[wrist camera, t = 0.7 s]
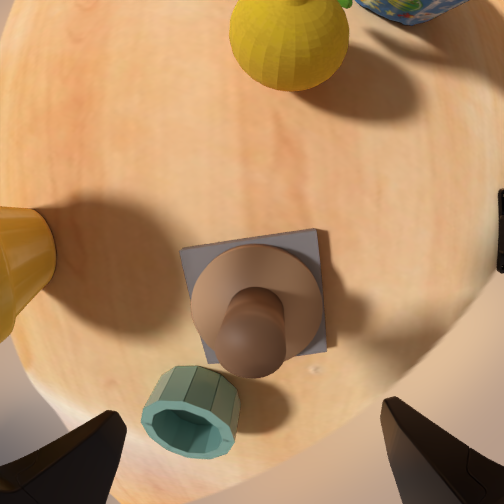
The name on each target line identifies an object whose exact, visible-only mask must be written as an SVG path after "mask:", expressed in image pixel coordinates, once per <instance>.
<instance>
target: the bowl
mask: <svg viewBox="0 0 504 504" xmlns="http://www.w3.org/2000/svg"><path fill="white" fill-rule="evenodd" d="M240 407H241V403H240V399H239V396H238V392H237V389H236V388H235V387H234V386H233V385H232V384H231V383H230V382H229V381H227V380H226V379H225V378H224V377H223V376H222V375H220V374H218V373H216V372H213V371H210V370H208V369H205V368H202V367H200V366H176V367H174V368H173V369H171V370H169V371H168V372H166V373H165V374H163V375H162V376H161V378H160V379H159V381H158V383H157V385H156V386H155V388H154V390H153V392H152V394H151V395H150V397H149V399H148V401H147V403H146V404H145V406H144V408H143V413H142V418H141V423H142V425H143V427H144V428H145V430H146V432H147V434H148V435H149V437H150V438H152V439H153V440H154V441H155V442H157V443H158V444H159V445H161V446H162V447H163V448H165V449H166V450H168V451H171V452H174V453H176V454H179V455H182V456H184V457H187V458H188V457H189V458H197V459H213V458H216V457H219V456H222V455H225V454H227V453H228V452H229V450H230V449H231V447H232V446H233V444H234V443H235V438H236V432H237V426H238V420H239V413H240Z"/></svg>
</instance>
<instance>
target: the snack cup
mask: <svg viewBox="0 0 504 504" xmlns="http://www.w3.org/2000/svg"><path fill="white" fill-rule="evenodd" d="M337 1H338V2H339V4H340V5H341V7H343V8H346V9H347V8H350V7H351V6H352V0H337ZM355 1H356V2H357V3H358V4H360V5H361V6H362V7H365V8H368V9H370V10H371V11H373V12H375V13H376V14H378V15H380V16H383V17H385V18H387V19H389V20H393V21H397V22H401V23H402V24H404V25H411V26H413V25H415V24H419V23H424V22H426V21H429V20H431V19H433V18H435V17H437V16H439V15H441V14H442V13H445V12H447V11H448V10H450V9H453V8H455V7H457V6H459V5H461V4H463V3H465V2H467V1H469V0H355Z"/></svg>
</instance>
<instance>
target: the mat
mask: <svg viewBox="0 0 504 504" xmlns="http://www.w3.org/2000/svg"><path fill="white" fill-rule="evenodd" d="M255 243H256V244H267V245H273V246H276V247H279V248H282V249H284V250H286V251H288V252H290V253H292V254H293V255H295V256H296V257H298V258H299V259H300V260H301V261H302V262H303V263H304V264H305V265H306V266H307V267H308V268H309V270H310V271H311V273H312V274H313V276H314V278H315V280H316V282H317V285H318V287H319V290H320V294H321V297H322V305H323V312H322V319H321V323H320V326H319V329H318V331H317V333H316V335H315V336H314V338H313V340H312V341H311V342H310V343H309V345H308V346H307V347H306V348H305V349H304V350H302V351H301V352H300V353H299V354H297V355H296V356H301V355H308V354H315V353H321V352H327V345H326V327H325V313H324V300H323V288H322V277H321V266H320V257H319V248H318V239H317V231H316V229H315V228H313V229H306V230H299V231H292V232H285V233H278V234H271V235H264V236H257V237H251V238H244V239H237V240H230V241H224V242H217V243H211V244H204V245H198V246H191V247H185V248H182V249H181V250H180V251H179V252H180V257H181V261H182V266H183V270H184V274H185V279H186V283H187V287H188V291H189V295H190V299H191V297H192V292H193V288H194V286H195V283H196V281H197V279H198V278H199V276H200V274H201V273H202V272H203V271H204V269H205V268H206V267H207V266H208V264H209V263H210V262H211V261H212V260H213V259H214V258H215V257H217V256H218V255H220V254H221V253H223V252H225V251H227V250H228V249H231V248H234V247H236V246H240V245H245V244H255ZM200 337H201V336H200ZM201 341H202V344H203V348H204V351H205V355H206V358H207V362H208V364H215V363H219V361H218V359H217V357H216V354H215V351H214V350H212V349H211V348H210V347H209V346H208V345H207V344H206V343H205V341H204V340H203V339H202V338H201Z"/></svg>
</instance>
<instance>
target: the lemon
mask: <svg viewBox="0 0 504 504" xmlns="http://www.w3.org/2000/svg"><path fill="white" fill-rule="evenodd" d="M229 39H230V43H231V47H232V51H233V54H234V56H235V58H236V60H237V61H238V63H239V64H240V66H241V68H242V69H243V70H244V71H245V72H246V73H247V74H248V75H249V76H250V77H251V78H252V79H254V80H255V81H257V82H259V83H261V84H262V85H264V86H266V87H269V88H272V89H276V90H280V91H289V92H292V91H302V90H306V89H309V88H312V87H315V86H318V85H319V84H321V83H323V82H324V81H326V80H327V79H329V78H330V77H331V76H332V75H333V74H334V73H335V72H336V70H337V69H338V68H339V67H340V66H341V64H342V62H343V59H344V57H345V55H346V53H347V50H348V43H349V25H348V21H347V18H346V14H345V12H344V10H343V8H342V7H341V5H340V4H339V2H338V1H337V0H239V1H238V2H237V4H236V6H235V8H234V10H233V13H232V15H231V19H230V30H229Z"/></svg>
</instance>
